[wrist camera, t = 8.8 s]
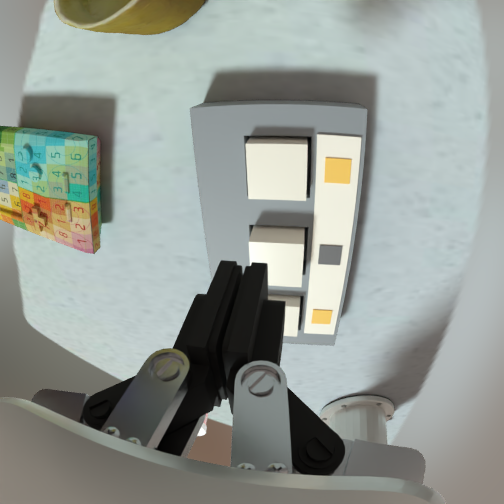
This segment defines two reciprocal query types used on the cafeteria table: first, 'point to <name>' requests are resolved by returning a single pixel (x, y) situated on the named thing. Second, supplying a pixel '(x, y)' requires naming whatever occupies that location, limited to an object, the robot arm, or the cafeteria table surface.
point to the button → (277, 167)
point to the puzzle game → (52, 185)
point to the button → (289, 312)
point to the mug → (126, 14)
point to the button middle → (279, 253)
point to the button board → (286, 211)
